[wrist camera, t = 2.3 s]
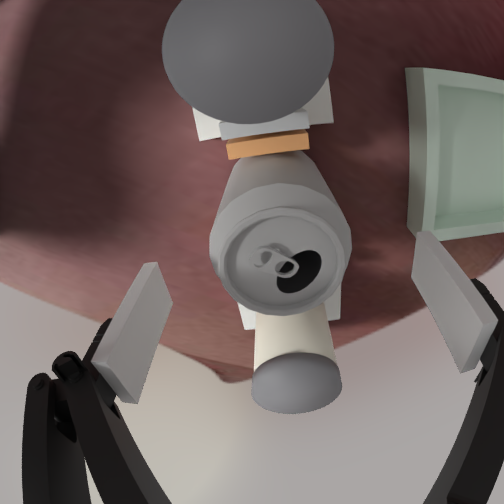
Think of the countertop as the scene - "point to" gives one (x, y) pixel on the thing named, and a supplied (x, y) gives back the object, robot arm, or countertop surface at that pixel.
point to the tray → (455, 153)
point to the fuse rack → (264, 150)
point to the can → (279, 235)
